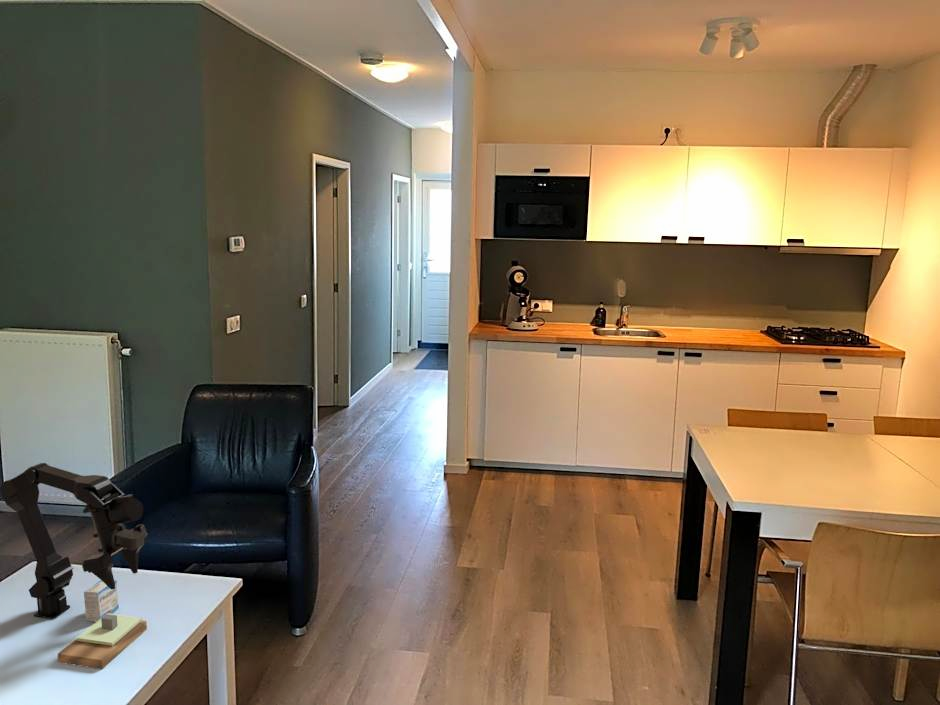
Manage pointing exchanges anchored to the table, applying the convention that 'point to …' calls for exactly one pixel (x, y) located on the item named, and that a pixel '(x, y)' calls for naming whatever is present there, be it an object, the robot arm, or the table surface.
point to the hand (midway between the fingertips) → (124, 580)
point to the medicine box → (100, 601)
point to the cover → (109, 629)
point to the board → (98, 650)
